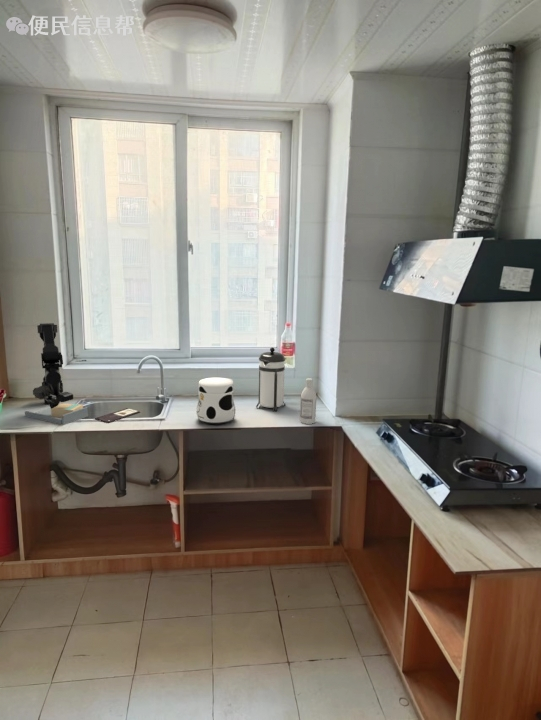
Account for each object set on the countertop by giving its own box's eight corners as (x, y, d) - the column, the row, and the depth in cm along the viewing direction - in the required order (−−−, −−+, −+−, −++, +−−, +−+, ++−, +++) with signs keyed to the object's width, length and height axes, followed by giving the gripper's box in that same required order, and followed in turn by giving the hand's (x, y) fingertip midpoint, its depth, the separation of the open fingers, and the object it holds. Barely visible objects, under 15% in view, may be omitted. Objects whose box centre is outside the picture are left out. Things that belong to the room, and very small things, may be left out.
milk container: (189, 418, 210) (189, 380, 206) (222, 412, 220) (222, 375, 217) (208, 429, 197) (208, 388, 193) (242, 422, 207) (243, 383, 203)
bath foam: (307, 418, 214) (308, 376, 210) (318, 422, 209) (320, 379, 205) (296, 421, 210) (298, 378, 206) (308, 425, 205) (309, 381, 201)
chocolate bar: (94, 418, 206) (126, 408, 221) (95, 420, 206) (126, 410, 221) (108, 422, 201) (140, 411, 216) (108, 424, 202) (140, 413, 217)
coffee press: (291, 411, 225) (293, 350, 219) (259, 412, 221) (260, 350, 215) (282, 400, 241) (283, 343, 235) (251, 402, 237) (252, 344, 231)
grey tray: (49, 411, 216) (48, 399, 214) (88, 419, 206) (87, 407, 205) (24, 419, 204) (23, 407, 203) (64, 428, 194) (63, 415, 193)
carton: (62, 412, 209) (61, 403, 208) (83, 414, 208) (82, 404, 207) (51, 418, 201) (50, 408, 200) (73, 420, 200) (72, 410, 199)
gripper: (21, 378, 199) (22, 413, 202) (52, 386, 191) (53, 422, 195) (43, 373, 209) (44, 406, 212) (73, 380, 201) (74, 414, 205)
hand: (53, 412), depth 206 cm, fingers closed
